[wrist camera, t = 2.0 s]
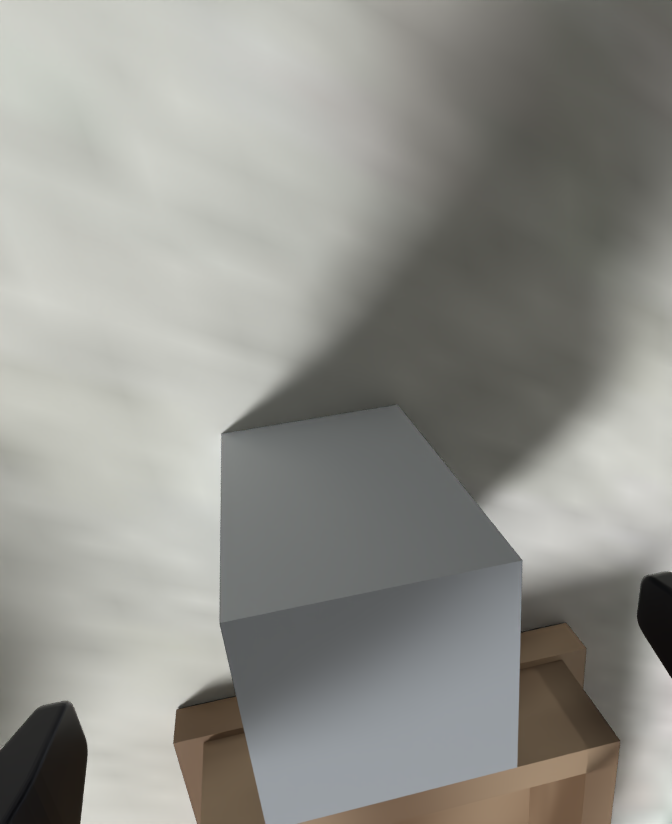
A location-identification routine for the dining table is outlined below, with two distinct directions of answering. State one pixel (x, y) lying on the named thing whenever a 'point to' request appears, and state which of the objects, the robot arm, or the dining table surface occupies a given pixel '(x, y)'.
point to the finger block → (363, 615)
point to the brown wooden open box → (456, 803)
